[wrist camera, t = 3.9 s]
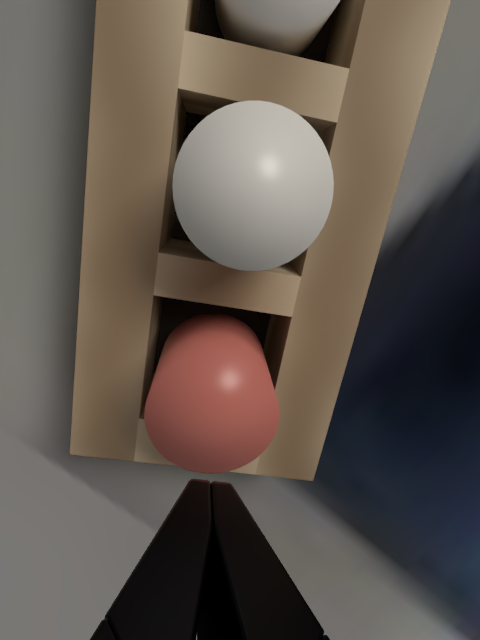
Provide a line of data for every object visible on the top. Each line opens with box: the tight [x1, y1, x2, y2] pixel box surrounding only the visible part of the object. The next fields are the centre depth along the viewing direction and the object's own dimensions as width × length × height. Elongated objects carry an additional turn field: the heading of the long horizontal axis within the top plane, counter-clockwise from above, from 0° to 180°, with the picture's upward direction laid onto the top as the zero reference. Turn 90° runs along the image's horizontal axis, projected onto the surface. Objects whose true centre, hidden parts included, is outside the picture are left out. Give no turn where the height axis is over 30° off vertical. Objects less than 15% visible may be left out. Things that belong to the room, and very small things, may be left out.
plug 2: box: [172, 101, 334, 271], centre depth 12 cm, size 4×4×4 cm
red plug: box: [144, 313, 279, 473], centre depth 14 cm, size 4×4×4 cm
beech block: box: [70, 0, 451, 481], centre depth 15 cm, size 10×22×4 cm, turn 170°
